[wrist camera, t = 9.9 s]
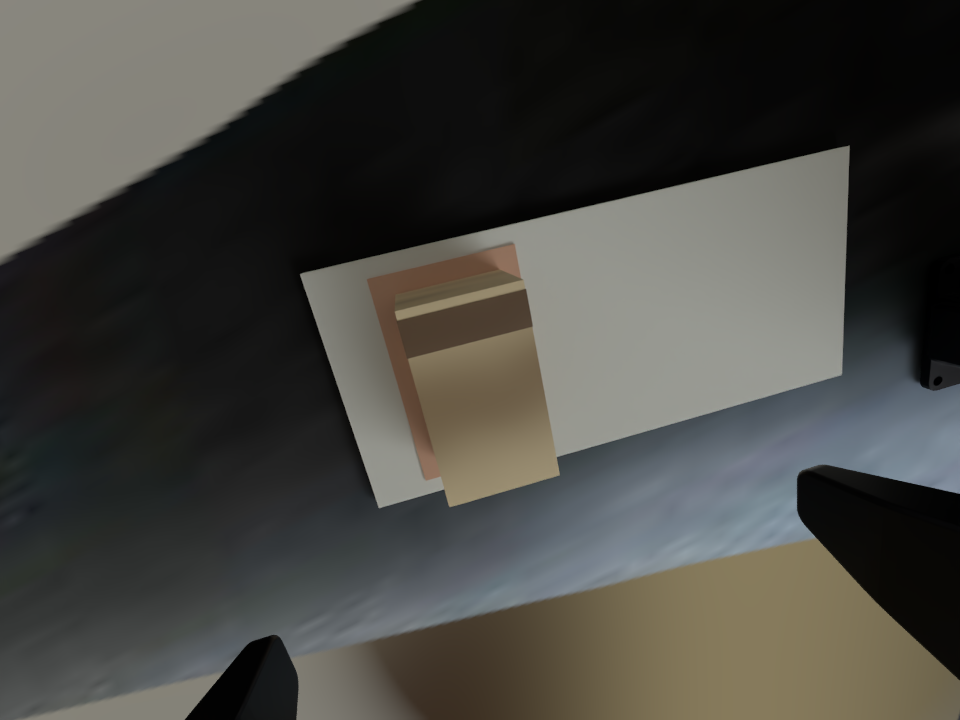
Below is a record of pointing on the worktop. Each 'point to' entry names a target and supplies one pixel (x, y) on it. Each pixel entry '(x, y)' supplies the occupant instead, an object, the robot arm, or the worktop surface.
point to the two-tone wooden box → (479, 383)
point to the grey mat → (615, 310)
